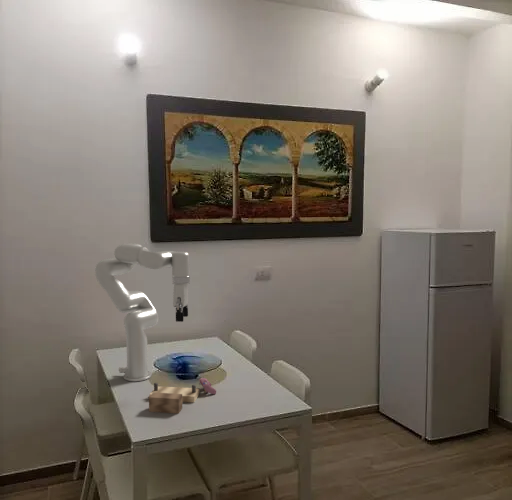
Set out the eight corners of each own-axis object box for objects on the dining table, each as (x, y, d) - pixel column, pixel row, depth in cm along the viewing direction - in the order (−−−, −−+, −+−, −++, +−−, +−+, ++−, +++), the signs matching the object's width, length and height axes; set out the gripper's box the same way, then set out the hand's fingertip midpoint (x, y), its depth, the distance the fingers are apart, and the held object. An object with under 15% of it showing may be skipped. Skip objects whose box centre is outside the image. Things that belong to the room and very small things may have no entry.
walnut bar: (149, 412, 188) (148, 397, 187) (153, 406, 193) (153, 392, 192) (178, 413, 186) (178, 399, 186) (182, 408, 191) (182, 394, 191)
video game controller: (202, 390, 214) (195, 378, 212) (211, 385, 215) (204, 372, 213) (208, 399, 204) (201, 385, 203) (217, 393, 206) (210, 380, 204)
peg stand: (149, 400, 199) (149, 387, 198) (156, 391, 208) (156, 379, 207) (194, 402, 197) (194, 389, 196) (199, 393, 206) (199, 381, 205)
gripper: (177, 277, 217) (177, 314, 219) (167, 283, 200) (168, 323, 201) (193, 277, 217) (194, 314, 218) (185, 283, 200) (186, 323, 201)
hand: (182, 318), depth 210 cm, fingers open, 9 cm apart
